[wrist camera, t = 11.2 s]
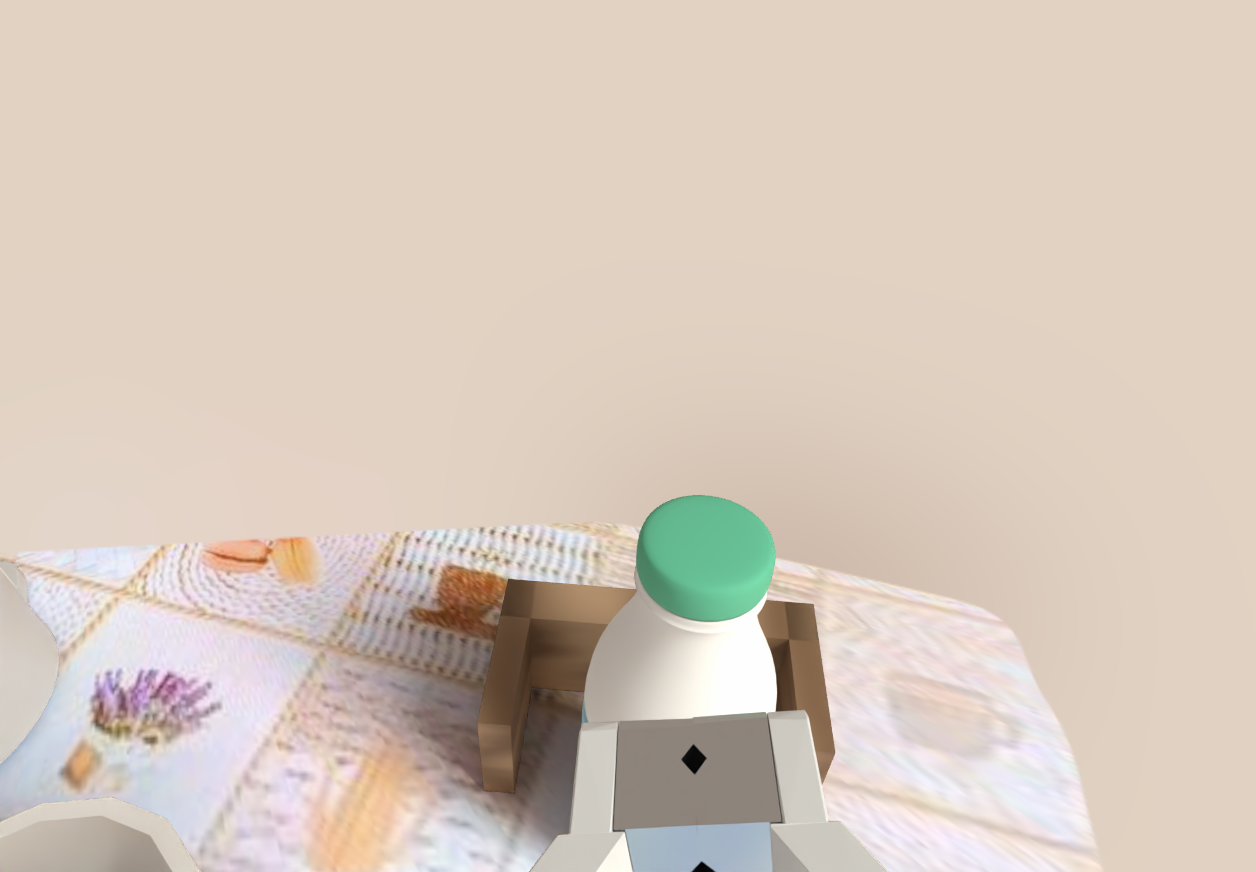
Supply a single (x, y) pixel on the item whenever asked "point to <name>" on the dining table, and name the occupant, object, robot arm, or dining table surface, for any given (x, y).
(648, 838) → the robot arm
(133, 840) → the foam cup
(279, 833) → the dining table surface
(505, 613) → the walnut dock
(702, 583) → the milk bottle
